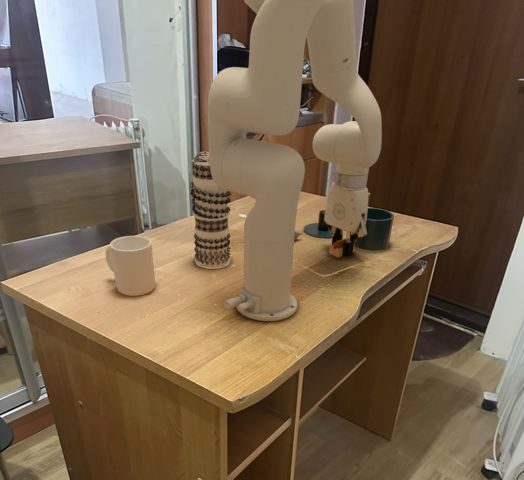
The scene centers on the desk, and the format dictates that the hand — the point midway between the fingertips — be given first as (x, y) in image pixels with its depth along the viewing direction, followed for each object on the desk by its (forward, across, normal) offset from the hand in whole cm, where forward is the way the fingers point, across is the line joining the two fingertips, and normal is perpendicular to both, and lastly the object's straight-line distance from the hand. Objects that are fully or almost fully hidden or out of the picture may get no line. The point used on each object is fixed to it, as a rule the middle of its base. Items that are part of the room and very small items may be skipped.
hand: (341, 252), depth 125 cm
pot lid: (0, -14, +7) cm, 15 cm away
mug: (+1, -16, -51) cm, 53 cm away
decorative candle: (+1, -16, -29) cm, 33 cm away
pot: (+1, 0, +11) cm, 11 cm away
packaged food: (+1, -14, -9) cm, 17 cm away
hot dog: (+1, 0, 0) cm, 1 cm away
